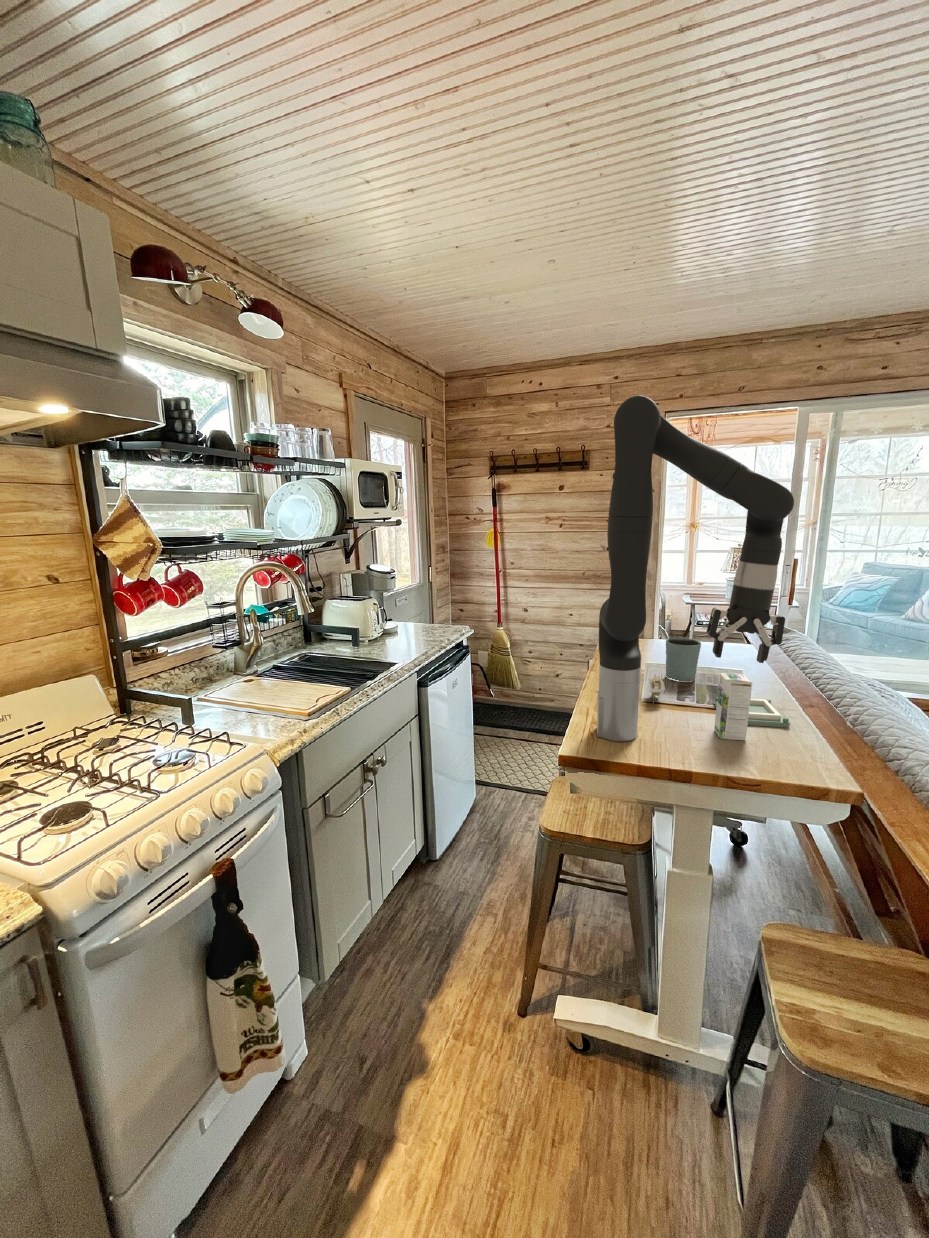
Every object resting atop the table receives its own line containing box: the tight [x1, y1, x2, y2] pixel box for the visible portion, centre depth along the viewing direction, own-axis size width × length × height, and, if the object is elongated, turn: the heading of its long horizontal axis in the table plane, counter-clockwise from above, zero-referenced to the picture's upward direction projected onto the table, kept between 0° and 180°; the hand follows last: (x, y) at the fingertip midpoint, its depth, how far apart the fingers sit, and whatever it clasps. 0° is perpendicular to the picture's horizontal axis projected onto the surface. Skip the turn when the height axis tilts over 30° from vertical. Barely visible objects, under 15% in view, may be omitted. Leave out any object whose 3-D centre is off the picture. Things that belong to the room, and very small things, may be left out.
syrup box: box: [714, 672, 753, 741], centre depth 122 cm, size 6×6×14 cm
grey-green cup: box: [665, 637, 702, 681], centre depth 163 cm, size 10×10×12 cm
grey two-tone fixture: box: [648, 675, 666, 706], centre depth 146 cm, size 12×18×7 cm, turn 163°
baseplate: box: [713, 696, 791, 728], centre depth 135 cm, size 14×14×2 cm
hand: (738, 659), depth 112 cm, fingers open, 8 cm apart
